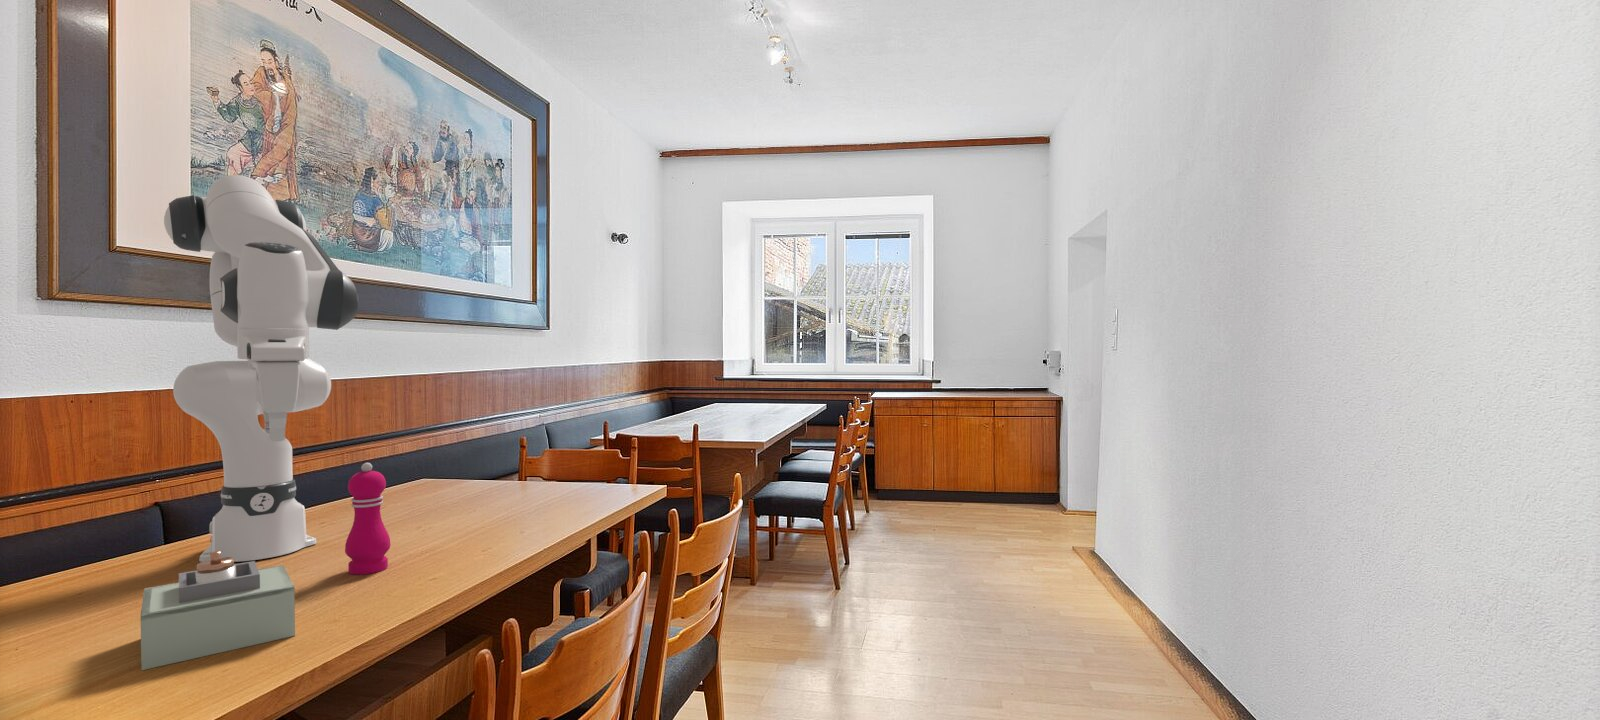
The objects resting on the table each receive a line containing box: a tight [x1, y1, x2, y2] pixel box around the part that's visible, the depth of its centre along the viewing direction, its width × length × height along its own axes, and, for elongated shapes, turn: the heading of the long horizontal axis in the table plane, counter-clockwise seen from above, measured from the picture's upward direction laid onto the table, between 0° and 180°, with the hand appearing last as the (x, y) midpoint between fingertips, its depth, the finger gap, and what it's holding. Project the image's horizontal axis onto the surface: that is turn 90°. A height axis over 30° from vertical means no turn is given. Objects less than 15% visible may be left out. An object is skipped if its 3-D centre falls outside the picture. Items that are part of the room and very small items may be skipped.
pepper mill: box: [344, 462, 391, 576], centre depth 130 cm, size 7×7×20 cm
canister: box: [195, 551, 236, 584], centre depth 99 cm, size 4×4×12 cm
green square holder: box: [139, 560, 296, 671], centre depth 100 cm, size 14×16×9 cm
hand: (274, 436), depth 108 cm, fingers open, 8 cm apart
